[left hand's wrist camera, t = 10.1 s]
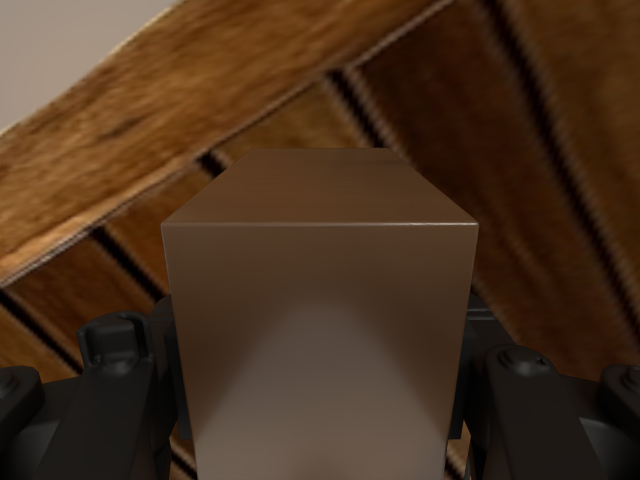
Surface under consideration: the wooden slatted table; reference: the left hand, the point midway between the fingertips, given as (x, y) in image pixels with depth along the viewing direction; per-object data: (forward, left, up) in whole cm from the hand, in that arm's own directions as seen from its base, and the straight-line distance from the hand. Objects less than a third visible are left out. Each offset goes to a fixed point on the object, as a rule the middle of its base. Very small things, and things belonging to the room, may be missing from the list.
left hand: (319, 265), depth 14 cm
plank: (-16, +11, -1) cm, 19 cm away
